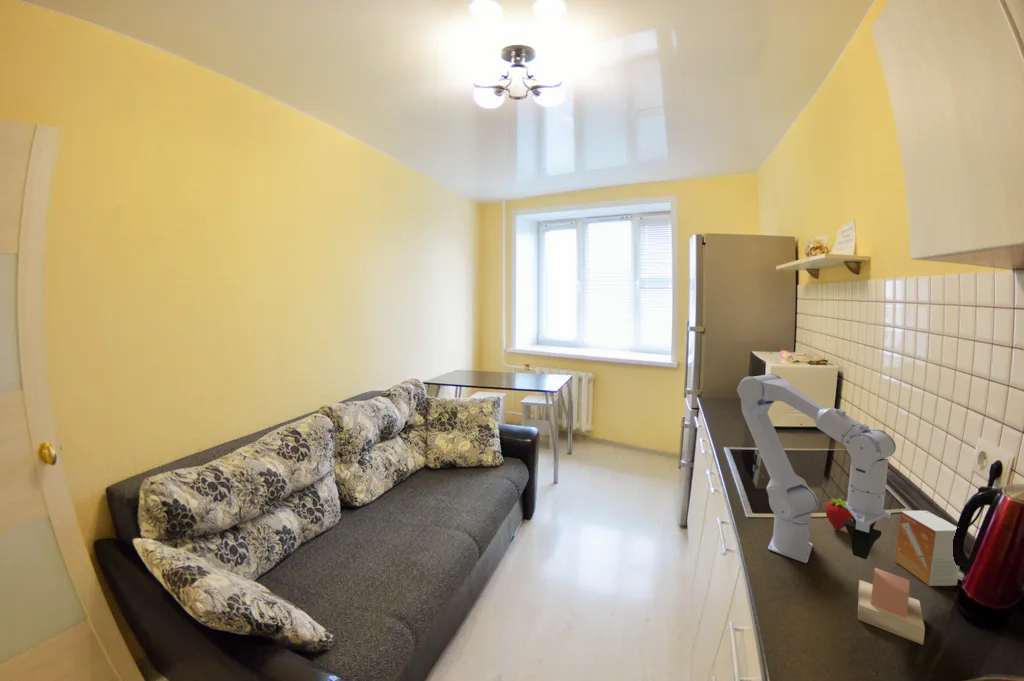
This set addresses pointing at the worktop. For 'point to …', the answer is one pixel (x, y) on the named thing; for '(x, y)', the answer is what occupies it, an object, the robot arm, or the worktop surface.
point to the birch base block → (891, 616)
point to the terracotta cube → (890, 592)
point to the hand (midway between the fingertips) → (860, 547)
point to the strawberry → (837, 513)
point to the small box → (927, 548)
